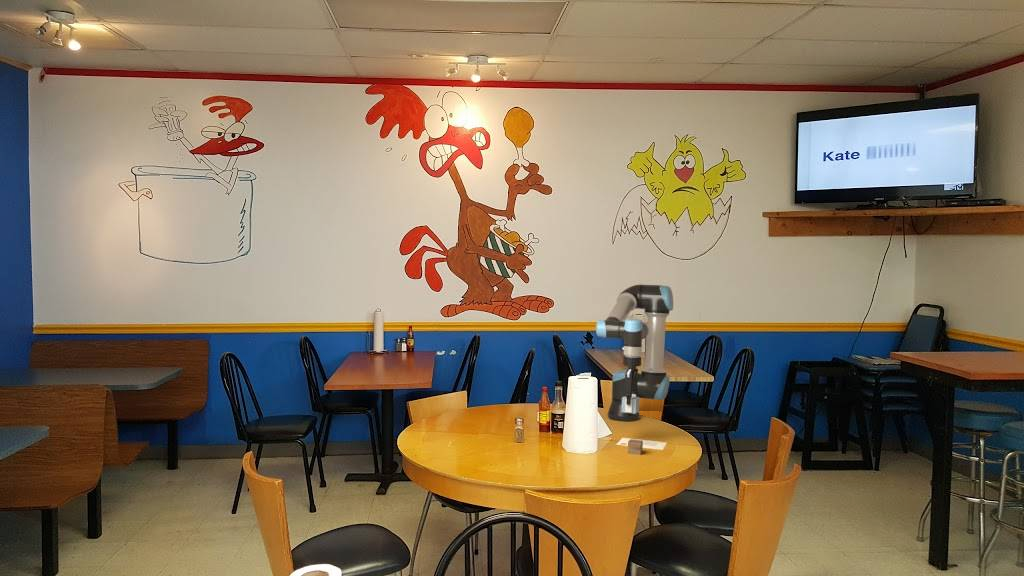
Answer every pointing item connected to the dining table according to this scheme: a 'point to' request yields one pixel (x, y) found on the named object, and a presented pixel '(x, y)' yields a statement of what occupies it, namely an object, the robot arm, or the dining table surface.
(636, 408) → the blue cube
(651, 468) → the dining table surface
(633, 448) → the walnut block
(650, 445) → the letter mat
